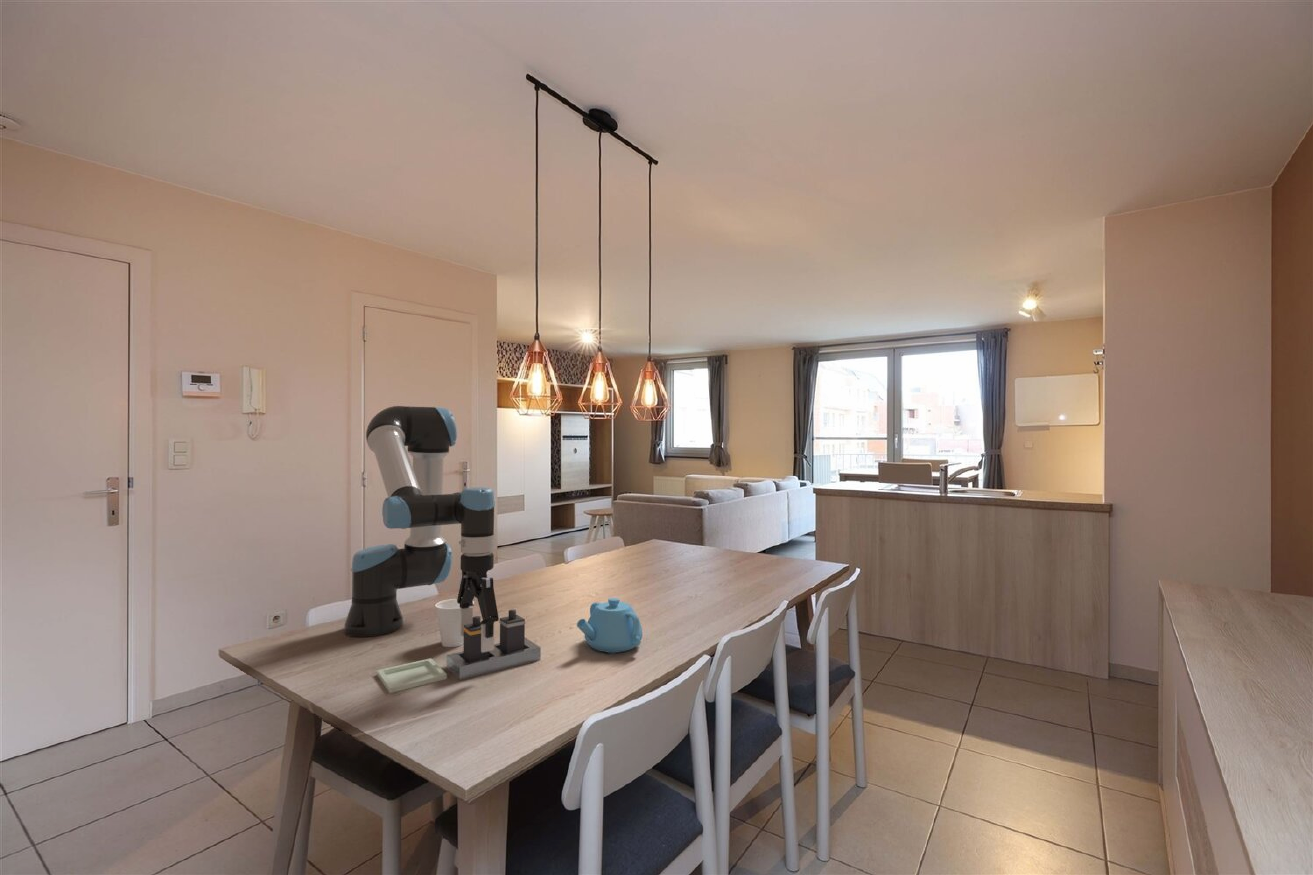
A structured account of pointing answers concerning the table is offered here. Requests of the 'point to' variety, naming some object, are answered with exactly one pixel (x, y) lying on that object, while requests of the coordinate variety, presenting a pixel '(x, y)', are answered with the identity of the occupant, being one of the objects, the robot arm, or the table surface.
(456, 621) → the cup
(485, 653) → the plug
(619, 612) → the teapot
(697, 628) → the table surface
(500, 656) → the strip
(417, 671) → the tray
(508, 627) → the twin plug
